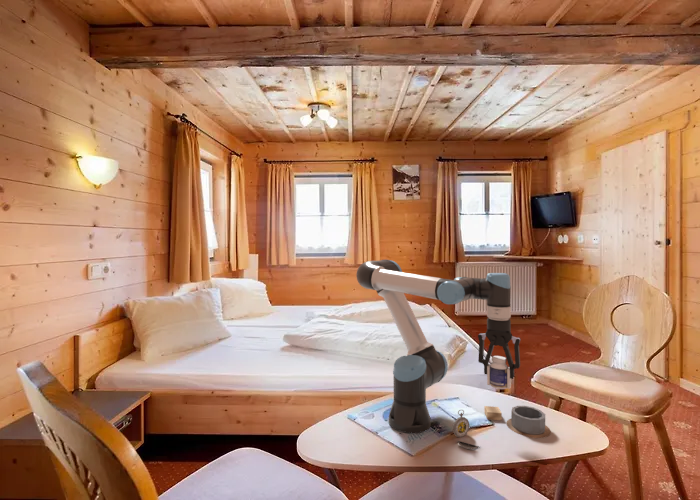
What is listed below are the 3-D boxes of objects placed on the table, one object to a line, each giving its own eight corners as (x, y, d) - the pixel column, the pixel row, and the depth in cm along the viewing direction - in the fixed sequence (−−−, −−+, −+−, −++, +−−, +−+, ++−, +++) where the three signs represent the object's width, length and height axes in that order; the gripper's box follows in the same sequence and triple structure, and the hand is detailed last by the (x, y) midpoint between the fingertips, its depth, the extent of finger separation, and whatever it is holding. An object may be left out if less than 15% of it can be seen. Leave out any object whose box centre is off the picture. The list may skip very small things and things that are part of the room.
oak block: (487, 422, 133) (487, 412, 133) (484, 416, 138) (484, 406, 138) (501, 423, 132) (501, 413, 132) (498, 417, 137) (498, 406, 137)
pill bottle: (509, 390, 121) (509, 360, 121) (491, 389, 122) (491, 359, 122) (506, 383, 126) (506, 355, 126) (488, 382, 128) (488, 354, 128)
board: (503, 434, 125) (503, 430, 125) (508, 417, 137) (509, 414, 137) (550, 445, 118) (550, 442, 118) (551, 426, 130) (551, 423, 130)
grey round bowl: (510, 429, 126) (510, 415, 125) (513, 417, 135) (513, 403, 135) (544, 438, 120) (544, 422, 120) (545, 424, 129) (545, 409, 129)
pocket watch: (476, 453, 114) (476, 421, 114) (450, 445, 118) (450, 414, 118) (482, 440, 121) (482, 411, 121) (457, 433, 125) (457, 405, 125)
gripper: (468, 317, 126) (468, 383, 126) (527, 323, 116) (528, 395, 116) (473, 313, 132) (473, 377, 132) (530, 318, 122) (530, 387, 123)
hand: (499, 385), depth 124 cm, fingers closed on pill bottle, 6 cm apart
